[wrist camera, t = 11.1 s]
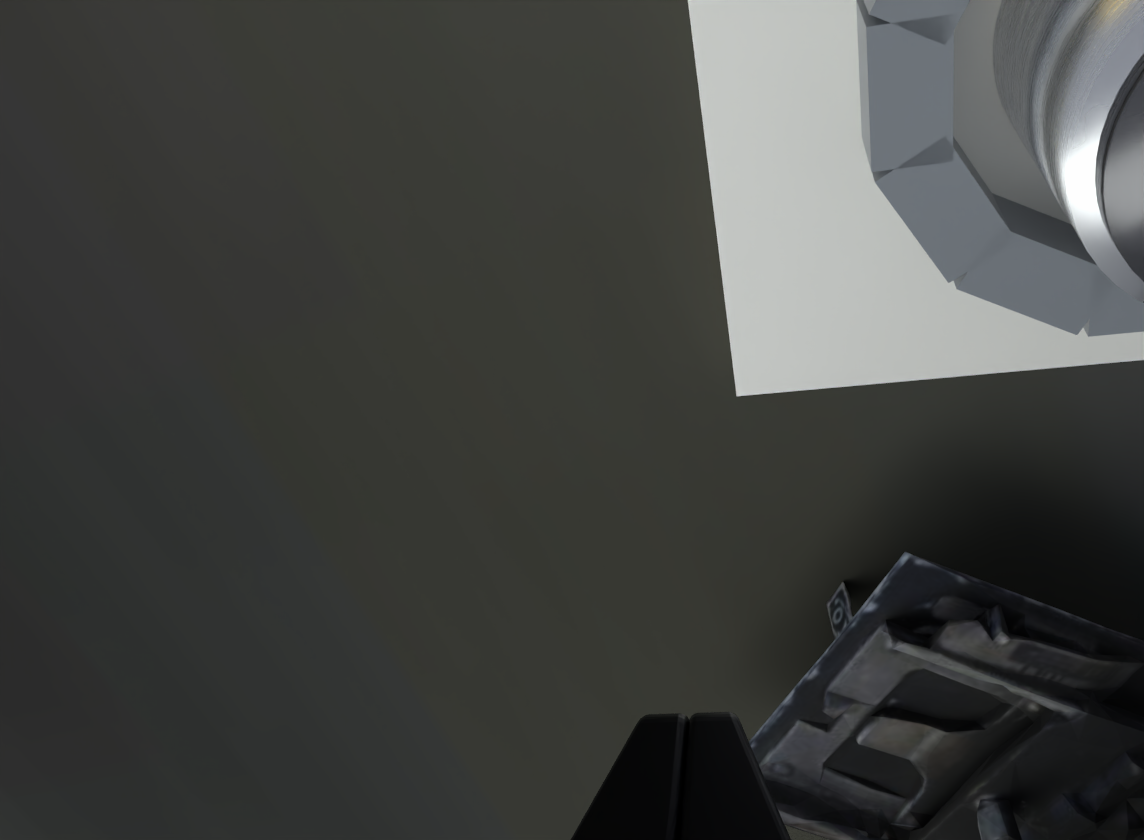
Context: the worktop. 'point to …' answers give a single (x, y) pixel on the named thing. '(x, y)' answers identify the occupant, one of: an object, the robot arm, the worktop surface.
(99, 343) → the worktop surface
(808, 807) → the vintage camera
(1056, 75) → the metal cylinder
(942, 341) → the barrel plate
